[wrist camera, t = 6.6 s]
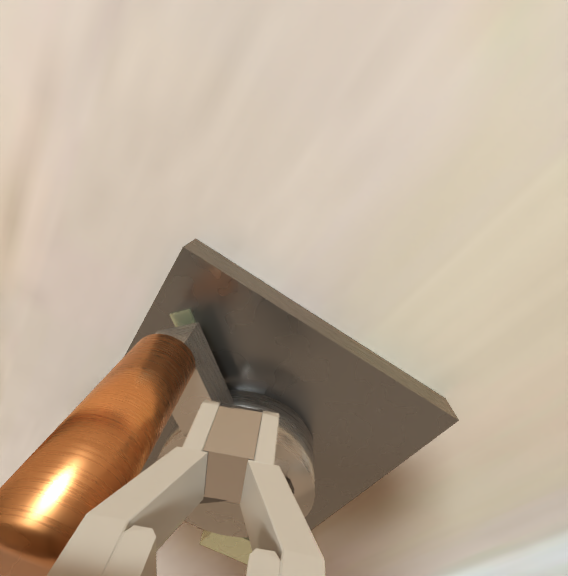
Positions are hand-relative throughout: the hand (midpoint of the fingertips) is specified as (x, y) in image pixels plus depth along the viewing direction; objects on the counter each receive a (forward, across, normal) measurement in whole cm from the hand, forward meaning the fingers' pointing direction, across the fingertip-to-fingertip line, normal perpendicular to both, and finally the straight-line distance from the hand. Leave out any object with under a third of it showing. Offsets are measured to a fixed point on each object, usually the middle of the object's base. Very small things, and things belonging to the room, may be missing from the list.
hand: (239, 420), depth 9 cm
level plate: (+6, 0, +7) cm, 10 cm away
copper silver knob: (+5, +1, +5) cm, 7 cm away
